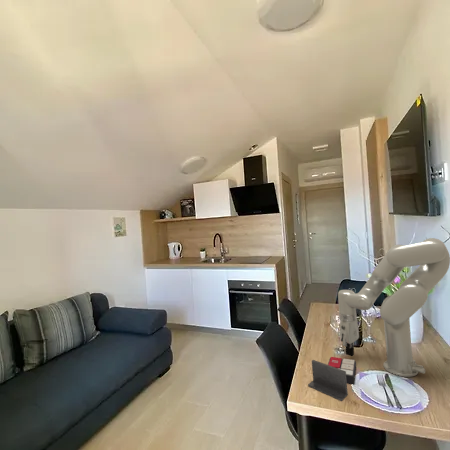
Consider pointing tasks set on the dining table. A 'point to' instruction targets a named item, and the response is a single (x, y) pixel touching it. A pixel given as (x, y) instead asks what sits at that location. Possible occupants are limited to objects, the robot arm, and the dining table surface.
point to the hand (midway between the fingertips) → (349, 354)
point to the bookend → (329, 380)
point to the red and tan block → (345, 367)
